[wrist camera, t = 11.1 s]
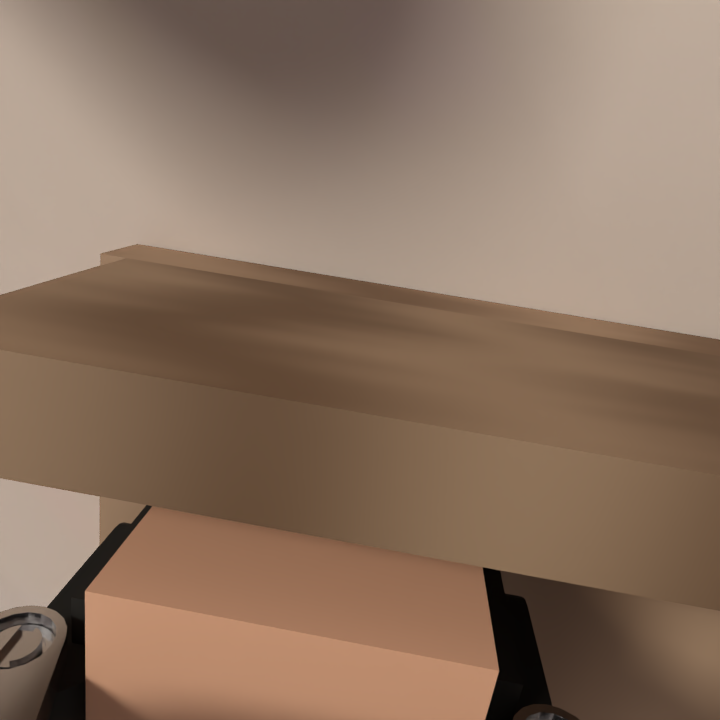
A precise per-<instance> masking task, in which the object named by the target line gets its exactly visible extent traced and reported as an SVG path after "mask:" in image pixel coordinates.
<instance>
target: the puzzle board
mask: <svg viewBox="0 0 720 720" xmlns="http://www.w3.org/2000/svg"><path fill="white" fill-rule="evenodd" d="M0 478H3V479H8V480H14V481H19V482H25V483H30V484H35V485H41V486H46V487H52V488H57V489H62V490H68V491H73V492H79V493H84V494H89V495H95V496H100V545H101V543H102V542H103V541H104V540H105V539H106V537H107V536H108V535H109V534H110V533H111V532H112V530H113V529H114V528H115V527H116V526H117V525H118V524H120V523H123V522H125V523H130V524H131V523H132V522H133V521H134V520H135V518H136V517H137V516H138V515H139V514H140V512H141V511H142V510H143V509H144V507H145V506H146V505H149V506H154V507H160V508H165V509H171V510H176V511H181V512H187V513H192V514H198V515H203V516H209V517H214V518H219V519H225V520H230V521H236V522H241V523H246V524H252V525H257V526H263V527H268V528H273V529H279V530H284V531H290V532H295V533H300V534H306V535H311V536H317V537H322V538H328V539H333V540H338V541H344V542H349V543H355V544H360V545H365V546H371V547H376V548H382V549H387V550H392V551H398V552H403V553H409V554H414V555H419V556H425V557H430V558H436V559H441V560H447V561H452V562H457V563H463V564H468V565H474V566H479V567H484V568H490V569H495V570H500V572H501V577H502V582H503V587H504V592H505V593H506V594H511V595H516V596H522V597H523V598H524V599H525V600H526V603H527V606H528V610H529V614H530V618H531V622H532V626H533V630H534V634H535V638H536V642H537V646H538V650H539V654H540V658H541V662H542V666H543V670H544V674H545V678H546V682H547V686H548V690H549V694H550V698H551V702H552V706H554V707H557V708H561V709H563V710H565V711H567V712H568V713H570V714H572V715H574V716H576V717H577V718H578V719H579V720H720V340H718V339H712V338H706V337H700V336H693V335H687V334H681V333H675V332H669V331H663V330H657V329H651V328H645V327H639V326H632V325H626V324H620V323H614V322H608V321H602V320H596V319H590V318H584V317H578V316H572V315H565V314H559V313H553V312H547V311H541V310H535V309H529V308H523V307H517V306H511V305H505V304H498V303H492V302H486V301H480V300H474V299H468V298H462V297H456V296H450V295H444V294H437V293H431V292H425V291H419V290H413V289H407V288H401V287H395V286H389V285H383V284H377V283H370V282H364V281H358V280H352V279H346V278H340V277H334V276H328V275H322V274H316V273H310V272H303V271H297V270H291V269H285V268H279V267H273V266H267V265H261V264H255V263H249V262H242V261H236V260H230V259H224V258H218V257H212V256H206V255H200V254H194V253H188V252H182V251H175V250H169V249H163V248H157V247H151V246H145V245H139V244H136V245H132V246H128V247H125V248H121V249H117V250H113V251H109V252H105V253H101V264H100V266H97V267H94V268H91V269H87V270H84V271H80V272H77V273H74V274H70V275H67V276H63V277H60V278H57V279H53V280H50V281H47V282H43V283H40V284H36V285H33V286H30V287H26V288H23V289H19V290H16V291H13V292H9V293H6V294H2V295H0Z"/></svg>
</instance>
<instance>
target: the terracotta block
mask: <svg viewBox="0 0 720 720" xmlns="http://www.w3.org/2000/svg"><path fill="white" fill-rule="evenodd" d="M498 673H499V666H498V660H497V654H496V648H495V642H494V635H493V629H492V623H491V617H490V611H489V604H488V598H487V592H486V586H485V580H484V573H483V567H479V566H474V565H468V564H463V563H457V562H452V561H447V560H441V559H436V558H430V557H425V556H419V555H414V554H409V553H403V552H398V551H392V550H387V549H382V548H376V547H371V546H365V545H360V544H355V543H349V542H344V541H338V540H333V539H328V538H322V537H317V536H311V535H306V534H300V533H295V532H290V531H284V530H279V529H273V528H268V527H263V526H257V525H252V524H246V523H241V522H236V521H230V520H225V519H219V518H214V517H209V516H203V515H198V514H192V513H187V512H181V511H176V510H171V509H165V508H160V507H154V506H152V507H151V509H150V510H149V511H148V512H147V514H146V515H145V516H144V517H143V519H142V520H141V521H140V522H139V524H138V525H137V526H136V527H135V529H134V530H133V531H132V532H131V534H130V535H129V536H128V537H127V539H126V540H125V541H124V542H123V544H122V545H121V546H120V548H119V549H118V550H117V551H116V553H115V554H114V555H113V556H112V558H111V559H110V560H109V561H108V563H107V564H106V565H105V566H104V568H103V569H102V570H101V571H100V573H99V574H98V575H97V576H96V578H95V579H94V580H93V581H92V583H91V584H90V585H89V586H88V588H87V589H86V590H85V683H86V720H485V718H486V715H487V712H488V708H489V705H490V701H491V698H492V694H493V691H494V687H495V684H496V680H497V677H498Z"/></svg>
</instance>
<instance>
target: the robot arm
mask: <svg viewBox="0 0 720 720" xmlns="http://www.w3.org/2000/svg"><path fill="white" fill-rule="evenodd" d="M151 507H152V506H149V505H146V506H145V507H144V509H143V510H142V511H141V512H140V514H139V515H138V516H137V517H136V518H135V520H134V521H133V522H132V523H131V524H130V523H125V522H123V523H120V524H118V525H117V526H116V527H115V528H114V529H113V530H112V532H111V533H110V534H109V535H108V536H107V537H106V539H105V540H104V541H103V542H102V543H101V545H100V546H99V547H98V548H97V549H96V550H95V552H94V553H93V554H92V555H91V556H90V557H89V559H88V560H87V561H86V562H85V563H84V564H83V566H82V567H81V568H80V569H79V570H78V571H77V573H76V574H75V575H74V576H73V577H72V579H71V580H70V581H69V582H68V583H67V584H66V586H65V587H64V588H63V589H62V590H61V591H60V593H59V594H58V595H57V596H56V597H55V598H54V600H53V601H52V602H51V603H50V604H49V606H48V607H41V606H23V607H15V608H12V609H9V610H5V611H2V612H0V720H86V683H85V590H86V589H87V588H88V586H89V585H90V584H91V583H92V581H93V580H94V579H95V578H96V576H97V575H98V574H99V573H100V571H101V570H102V569H103V568H104V566H105V565H106V564H107V563H108V561H109V560H110V559H111V558H112V556H113V555H114V554H115V553H116V551H117V550H118V549H119V548H120V546H121V545H122V544H123V542H124V541H125V540H126V539H127V537H128V536H129V535H130V534H131V532H132V531H133V530H134V529H135V527H136V526H137V525H138V524H139V522H140V521H141V520H142V519H143V517H144V516H145V515H146V514H147V512H148V511H149V510H150V509H151ZM483 573H484V580H485V586H486V592H487V598H488V604H489V611H490V617H491V623H492V629H493V635H494V642H495V648H496V654H497V660H498V666H499V673H498V677H497V680H496V684H495V687H494V691H493V694H492V698H491V701H490V705H489V708H488V712H487V715H486V718H485V720H579V719H578V718H577V717H576V716H574V715H572V714H570V713H568V712H567V711H565V710H563V709H561V708H557V707H554V706H552V702H551V698H550V694H549V690H548V686H547V682H546V678H545V674H544V670H543V666H542V662H541V658H540V654H539V650H538V646H537V642H536V638H535V634H534V630H533V626H532V622H531V618H530V614H529V610H528V606H527V603H526V600H525V599H524V598H523V597H522V596H516V595H511V594H506V593H505V592H504V587H503V582H502V577H501V572H500V570H495V569H490V568H484V567H483Z"/></svg>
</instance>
